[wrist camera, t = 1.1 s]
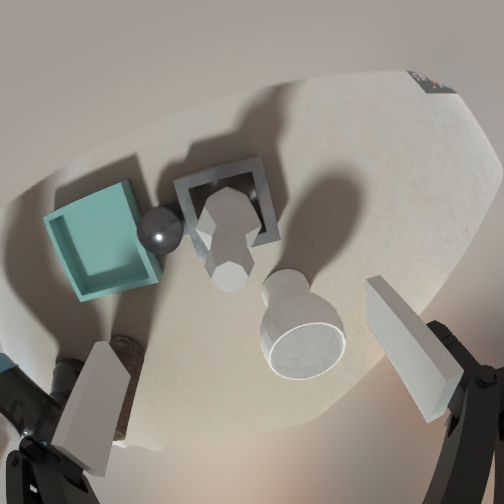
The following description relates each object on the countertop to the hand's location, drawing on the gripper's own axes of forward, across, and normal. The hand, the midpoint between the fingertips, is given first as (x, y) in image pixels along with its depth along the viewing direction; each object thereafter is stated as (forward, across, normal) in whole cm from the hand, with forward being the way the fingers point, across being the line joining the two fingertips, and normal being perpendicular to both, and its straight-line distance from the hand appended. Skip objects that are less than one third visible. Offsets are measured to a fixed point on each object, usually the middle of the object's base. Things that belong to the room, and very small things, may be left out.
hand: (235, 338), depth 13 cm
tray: (+28, -20, 0) cm, 35 cm away
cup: (+28, +5, -16) cm, 33 cm away
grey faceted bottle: (+28, 0, 0) cm, 28 cm away
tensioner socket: (+28, -3, 0) cm, 28 cm away
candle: (+28, -26, -21) cm, 44 cm away
